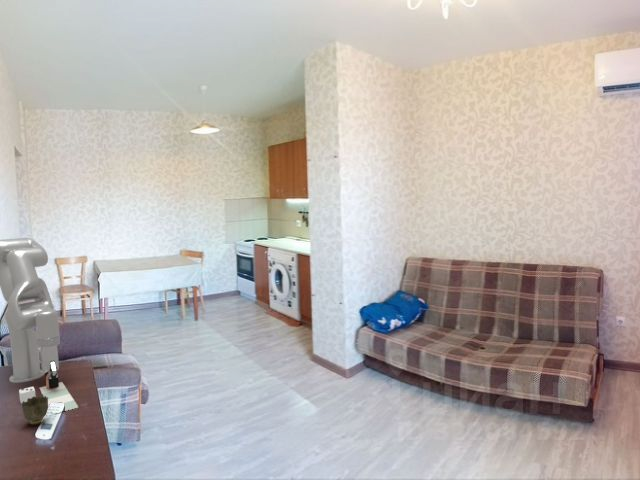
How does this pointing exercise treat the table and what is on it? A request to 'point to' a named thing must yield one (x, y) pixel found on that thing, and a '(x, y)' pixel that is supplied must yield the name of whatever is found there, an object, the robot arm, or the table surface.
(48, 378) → the pawn
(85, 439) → the table surface
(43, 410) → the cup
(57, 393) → the board
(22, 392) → the die
